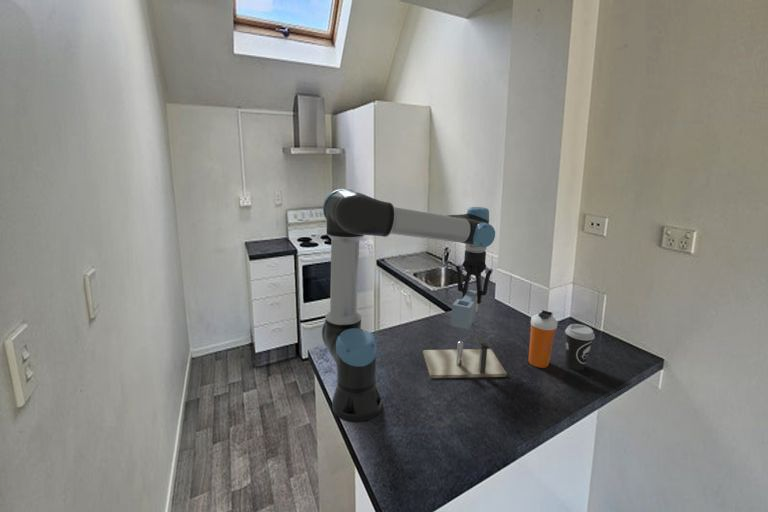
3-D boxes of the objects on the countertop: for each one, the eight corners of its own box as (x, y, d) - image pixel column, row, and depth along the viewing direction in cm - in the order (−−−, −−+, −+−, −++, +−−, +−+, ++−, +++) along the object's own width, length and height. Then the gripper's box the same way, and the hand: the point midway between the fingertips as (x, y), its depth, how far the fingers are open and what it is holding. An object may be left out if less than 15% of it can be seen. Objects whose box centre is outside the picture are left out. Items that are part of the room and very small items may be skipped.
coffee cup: (582, 359, 142) (588, 323, 138) (593, 373, 133) (600, 335, 129) (556, 358, 143) (562, 322, 139) (565, 372, 134) (571, 334, 130)
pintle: (456, 369, 134) (458, 343, 132) (455, 366, 136) (457, 340, 134) (462, 369, 135) (464, 343, 132) (460, 366, 136) (462, 340, 134)
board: (430, 378, 129) (430, 375, 129) (423, 352, 145) (423, 350, 145) (506, 376, 130) (506, 373, 130) (490, 351, 147) (491, 349, 146)
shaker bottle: (524, 365, 138) (530, 315, 132) (527, 354, 145) (533, 306, 140) (550, 371, 134) (557, 320, 128) (552, 360, 141) (559, 311, 136)
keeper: (477, 376, 131) (480, 346, 127) (472, 364, 137) (474, 336, 134) (486, 376, 131) (489, 345, 127) (480, 364, 138) (482, 336, 134)
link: (468, 329, 127) (469, 308, 125) (451, 325, 130) (452, 304, 127) (479, 311, 142) (481, 291, 139) (464, 308, 144) (465, 289, 142)
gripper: (450, 249, 135) (447, 309, 141) (496, 255, 128) (490, 318, 134) (456, 245, 141) (453, 302, 148) (500, 250, 134) (494, 310, 141)
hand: (470, 309), depth 141 cm, fingers closed on link, 3 cm apart
